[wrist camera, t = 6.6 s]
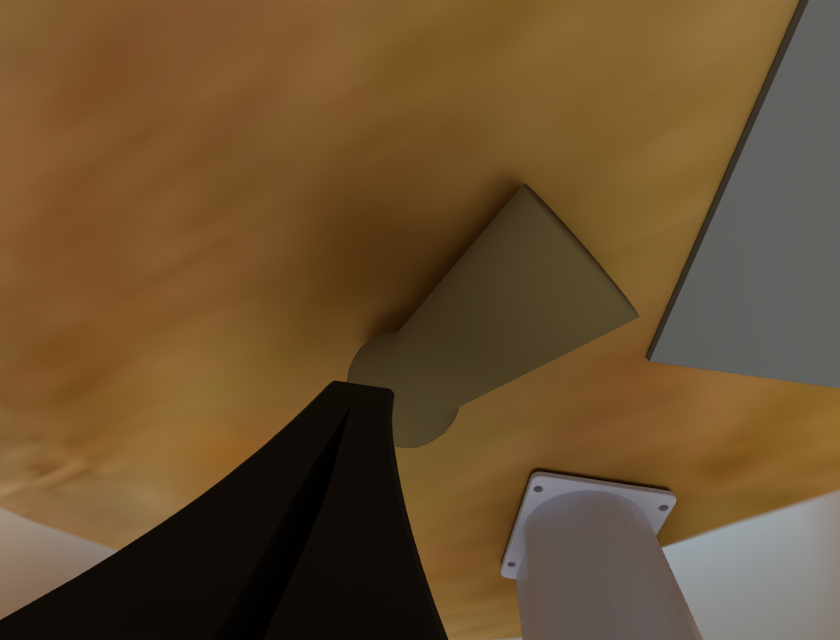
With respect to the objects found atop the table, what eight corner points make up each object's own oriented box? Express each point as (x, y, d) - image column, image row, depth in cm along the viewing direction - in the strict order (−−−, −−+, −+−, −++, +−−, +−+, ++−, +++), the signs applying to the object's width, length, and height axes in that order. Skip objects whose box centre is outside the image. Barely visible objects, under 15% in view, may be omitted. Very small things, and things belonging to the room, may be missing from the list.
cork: (509, 163, 16) (336, 332, 20) (551, 226, 11) (310, 430, 15) (598, 261, 18) (425, 391, 23) (666, 349, 13) (427, 493, 18)
